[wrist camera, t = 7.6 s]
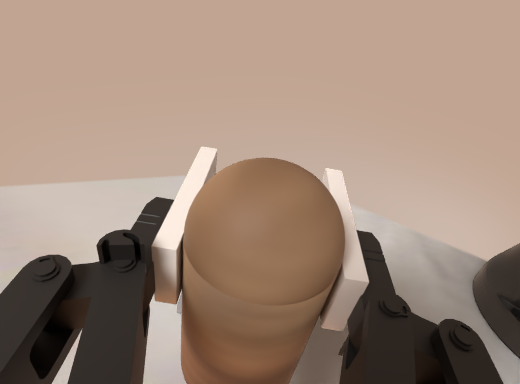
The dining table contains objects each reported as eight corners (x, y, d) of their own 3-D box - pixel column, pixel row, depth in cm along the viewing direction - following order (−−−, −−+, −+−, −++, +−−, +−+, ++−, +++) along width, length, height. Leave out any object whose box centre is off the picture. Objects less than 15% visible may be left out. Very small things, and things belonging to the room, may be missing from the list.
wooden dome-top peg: (312, 343, 16) (391, 174, 10) (250, 448, 12) (320, 274, 6) (230, 286, 18) (256, 117, 12) (155, 359, 14) (141, 165, 8)
